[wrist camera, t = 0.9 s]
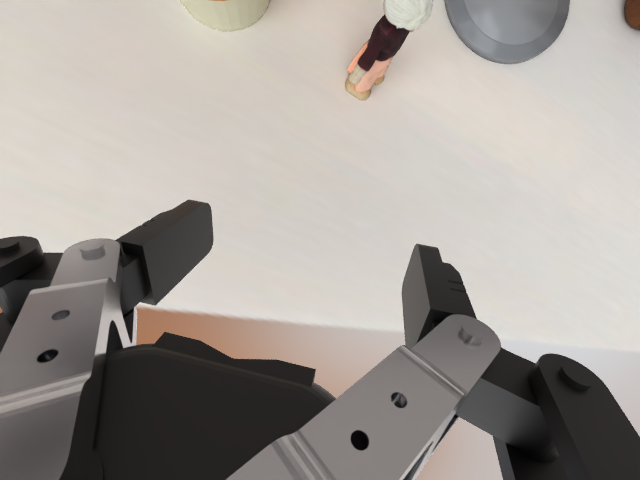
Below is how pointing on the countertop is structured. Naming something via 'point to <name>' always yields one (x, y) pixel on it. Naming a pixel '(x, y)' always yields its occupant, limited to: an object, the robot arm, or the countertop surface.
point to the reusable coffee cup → (226, 12)
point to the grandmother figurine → (385, 44)
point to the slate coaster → (507, 26)
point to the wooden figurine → (633, 13)
